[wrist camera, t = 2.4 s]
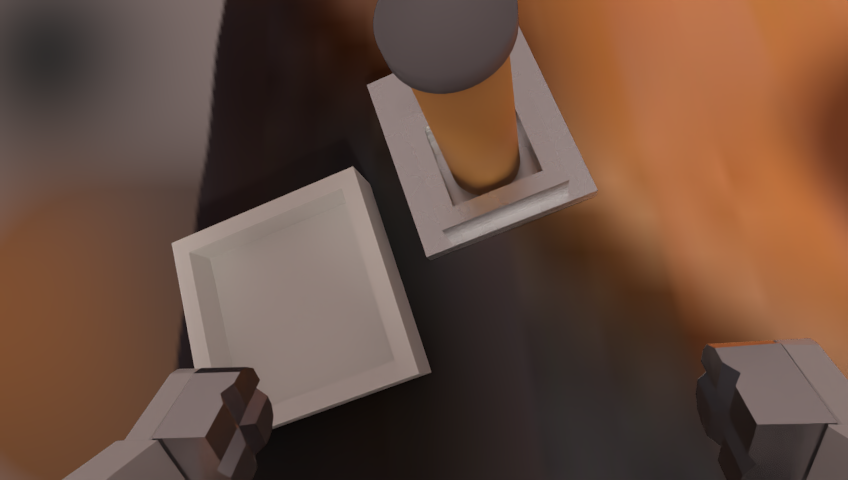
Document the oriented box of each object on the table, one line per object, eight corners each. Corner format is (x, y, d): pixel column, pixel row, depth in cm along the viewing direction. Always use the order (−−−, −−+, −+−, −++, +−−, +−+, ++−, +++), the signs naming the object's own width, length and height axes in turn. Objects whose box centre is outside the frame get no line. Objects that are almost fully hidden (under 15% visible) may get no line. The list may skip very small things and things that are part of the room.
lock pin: (540, 182, 28) (541, 38, 15) (460, 214, 28) (398, 101, 16) (508, 111, 29) (485, -74, 17) (432, 143, 30) (356, -12, 17)
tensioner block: (595, 196, 28) (602, 175, 25) (430, 260, 29) (417, 248, 26) (516, 29, 31) (513, -8, 28) (371, 92, 32) (353, 64, 29)
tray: (431, 372, 27) (419, 373, 25) (241, 440, 29) (209, 448, 26) (370, 184, 31) (353, 166, 28) (203, 253, 32) (171, 243, 30)
